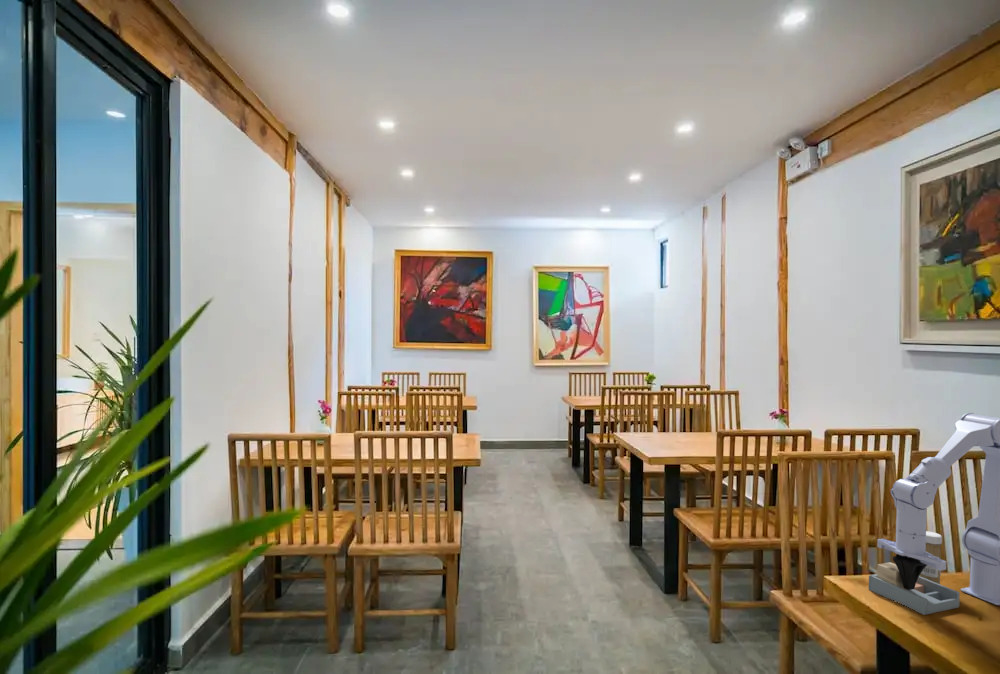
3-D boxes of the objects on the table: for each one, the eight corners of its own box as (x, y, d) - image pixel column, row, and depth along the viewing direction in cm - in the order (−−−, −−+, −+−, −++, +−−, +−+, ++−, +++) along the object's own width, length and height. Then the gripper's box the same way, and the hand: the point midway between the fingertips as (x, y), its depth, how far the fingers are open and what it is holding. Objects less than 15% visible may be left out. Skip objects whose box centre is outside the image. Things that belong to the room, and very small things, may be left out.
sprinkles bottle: (943, 588, 140) (945, 534, 140) (936, 592, 137) (937, 538, 137) (921, 581, 144) (923, 529, 143) (914, 585, 141) (916, 532, 141)
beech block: (889, 580, 139) (890, 562, 139) (908, 588, 135) (908, 569, 135) (877, 582, 137) (877, 564, 137) (895, 590, 133) (896, 571, 133)
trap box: (902, 583, 142) (902, 569, 142) (959, 607, 130) (959, 592, 130) (868, 589, 138) (869, 575, 138) (924, 615, 126) (924, 599, 126)
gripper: (869, 522, 138) (867, 577, 138) (932, 544, 124) (930, 605, 124) (889, 520, 140) (887, 574, 140) (953, 541, 127) (951, 600, 127)
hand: (908, 588), depth 133 cm, fingers closed
